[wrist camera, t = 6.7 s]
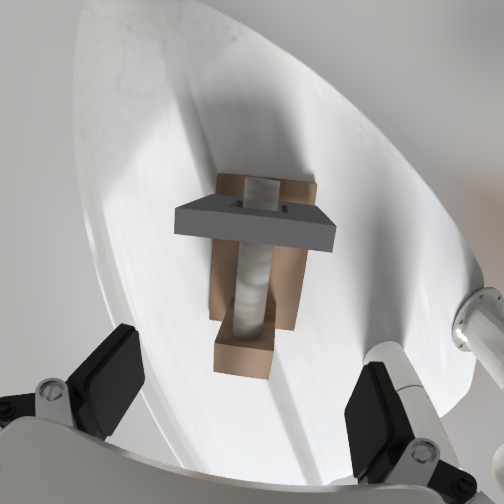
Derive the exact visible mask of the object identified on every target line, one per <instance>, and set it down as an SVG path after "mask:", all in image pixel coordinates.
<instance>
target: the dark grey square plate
mask: <svg viewBox="0 0 504 504" xmlns="http://www.w3.org/2000/svg"><path fill="white" fill-rule="evenodd" d="M243 199H244V197H238V196H228V195H216V194H212V195H209V196H206V197H203V198H201V199H198V200H195V201H193V202H190V203H187V204H185V205H182V206H179V207H177V208H175V226H174V234H181V235H190V236H198V237H207V238H216V239H225V240H233V241H242V242H250V243H259V244H267V245H275V246H283V247H292V248H300V249H308V250H316V251H324V252H332V250H333V244H334V238H335V232H336V225H335V224H334V223H333V222H332V221H331V220H330V219H329V218H328V217H327V216H326V215H325V214H324V213H323V212H322V211H321V210H320V209H319V208H318V207H317V206H315V205H308V204H300V203H292V202H284V201H278V208H277V211H269V210H261V209H251V208H243Z"/></svg>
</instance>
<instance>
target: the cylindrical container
mask: <svg viewBox="0 0 504 504" xmlns="http://www.w3.org/2000/svg"><path fill="white" fill-rule="evenodd" d="M370 361H381V362H384V364H385V366H386V369H387V371H388V373H389V376H390V378H391V381H392V383H393V386H394V388H395V390H396V392H397V393H398V394H399V396H400V398H401V401H402V403H403V406H404V409H405V411H406V414H407V416H408V419H409V422H410V424H411V427H412V430H413V433H414V435H415V438H416V439H417V438H427V439H430V440H432V441H434V442H435V443H436V444H437V445H438V447H439V449H440V458H439V459H441V460H442V461H444V462H446V463H448V464H450V465H452V466H454V467H456V468H458V469H460V470H462V468H461V466H460V463H459V461H458V458H457V456H456V454H455V451H454V449H453V447H452V444H451V442H450V440H449V438H448V435H447V433H446V431H445V429H444V427H443V425H442V423H441V421H440V418H439V416H438V414H437V412H436V410H435V408H434V406H433V404H432V402H431V400H430V398H429V396H428V394H427V392H426V390H425V388H424V386H423V385H422V383H421V381H420V379H419V377H418V375H417V373H416V372H415V370H414V368H413V366H412V364H411V362H410V361H409V359H408V357H407V355H406V354H405V352H404V350H403V348H402V347H401V345H400V344H399V343H397V342H394V341H385V342H381V343H379V344H377V345H375V346H374V347H372V348H371V349H370V350H369V351H368V352H367V354H366V355H365V358H364V361H363V367H364V365H368V363H369V362H370Z"/></svg>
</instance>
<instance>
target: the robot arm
mask: <svg viewBox="0 0 504 504" xmlns="http://www.w3.org/2000/svg"><path fill="white" fill-rule="evenodd" d="M452 338H453V342H454V344H455V346H456V347H457V348H458V349H459V350H461V351H464V352H470V351H472V352H473V354H474V355H475V356H476V357H477V359H478V360H479V361H480V362H481V364H482V365H483V366H484V367H485V369H486V370H487V371H488V372H489V373H490V375H491V376H492V378H493V379H494V380H495V382H496V383H497V384H498V386H499V387H500V388H501V390H502V391H503V392H504V300H503V297H502V294H501V293H500V292H499V291H498V290H496V289H495V288H493V287H486V288H483V289H480V290H479V291H477V292H476V293H474V294H473V295H472V296H471V297H470V298H469V299H468V300H467V301H466V302H465V304H464V305H463V306H462V308H461V309H460V311H459V313H458V315H457V317H456V320H455V322H454V326H453V331H452ZM144 381H145V374H144V368H143V362H142V355H141V348H140V340H139V333H138V331H136V330H135V327H134V326H130V325H127V324H123V323H122V324H120V325H119V326H118V327H117V328H116V329H115V330H114V331H113V332H112V333H111V334H110V335H109V336H108V337H107V338H106V339H105V340H104V341H103V342H102V343H101V344H100V345H99V346H98V347H97V348H96V349H95V350H94V351H93V352H92V354H91V355H90V356H89V357H88V358H87V359H86V360H85V361H84V362H83V363H82V364H81V365H80V366H79V367H78V368H77V369H76V370H75V371H74V372H73V374H72V375H71V376H70V377H69V378H68V380H67V381H66V382H64V381H62V380H61V379H57V378H49V379H45V380H43V381H42V382H40V383H39V384H38V386H37V387H36V391H35V393H30V394H22V395H13V396H4V397H1V398H0V504H495V503H494V502H493V501H492V500H491V499H490V498H488V496H486V495H485V494H484V493H483V492H482V491H480V492H479V493H478V492H477V491H476V490H477V482H476V480H475V478H474V477H473V476H472V475H470V474H469V473H467V472H464V471H462V470H460V469H458V468H456V467H454V466H452V465H450V464H448V463H446V462H444V461H442V460H441V459H439V458H440V449H439V447H438V445H437V444H436V443H435V442H434V441H432V440H430V439H427V438H417V439H416V438H415V435H414V433H413V430H412V427H411V424H410V422H409V419H408V416H407V414H406V411H405V409H404V406H403V403H402V401H401V398H400V396H399V394H398V393H397V392H396V390H395V388H394V386H393V383H392V381H391V378H390V376H389V373H388V371H387V369H386V366H385V364H384V362H381V361H370V362H369V363H368V365H364V367H363V369H362V371H361V374H360V376H359V379H358V381H357V383H356V386H355V388H354V390H353V392H352V395H351V397H350V399H349V401H348V403H347V406H346V408H345V412H344V416H345V422H346V428H347V434H348V440H349V447H350V454H351V461H352V468H353V475H354V477H355V478H358V484H360V485H343V486H298V485H280V484H268V483H258V482H250V481H243V480H236V479H230V478H224V477H219V476H214V475H209V474H204V473H200V472H196V471H191V470H187V469H183V468H179V467H176V466H172V465H169V464H165V463H162V462H159V461H156V460H153V459H149V458H147V457H143V456H141V455H138V454H135V453H133V452H130V451H127V450H125V449H122V448H120V447H117V446H115V445H112V444H110V443H107V442H105V439H106V437H107V436H111V435H112V434H113V432H114V430H115V429H116V427H117V426H118V424H119V422H120V421H121V419H122V417H123V416H124V414H125V413H126V411H127V409H128V408H129V406H130V405H131V403H132V402H133V400H134V398H135V397H136V395H137V394H138V392H139V390H140V389H141V387H142V386H143V384H144ZM102 440H103V441H102ZM492 472H493V475H494V478H495V480H496V482H497V484H498V485H499V487H500V489H501V491H502V492H503V494H504V442H503V444H502V445H501V446H500V447H499V448H498V449H497V451H496V452H495V454H494V456H493V459H492ZM367 483H368V484H367Z"/></svg>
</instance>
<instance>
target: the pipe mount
mask: <svg viewBox="0 0 504 504" xmlns="http://www.w3.org/2000/svg"><path fill="white" fill-rule="evenodd" d="M316 190H317V184H315V183H308V182H301V181H293V180H285V179H276V178H267V177H257V176H247V175H235V174H223V173H218V175H217V188H216V195H228V196H238V197H244V199H243V208H251V209H261V210H269V211H277V208H278V201H284V202H292V203H300V204H308V205H315V198H316ZM307 254H308V249H300V248H292V247H283V246H275V245H267V244H259V243H250V242H242V241H233V240H225V239H216V238H213V247H212V265H211V287H210V315H209V319H210V320H216V321H223V322H222V324H221V327H220V329H219V332H218V335H217V337H216V340H215V342H214V371H213V372H219V373H225V374H231V375H237V376H244V377H251V378H259V379H267V380H269V374H270V369H271V363H272V358H273V352H274V338H275V329H283V330H292V331H294V328H295V323H296V317H297V312H298V307H299V301H300V296H301V290H302V284H303V279H304V273H305V267H306V260H307Z"/></svg>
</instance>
